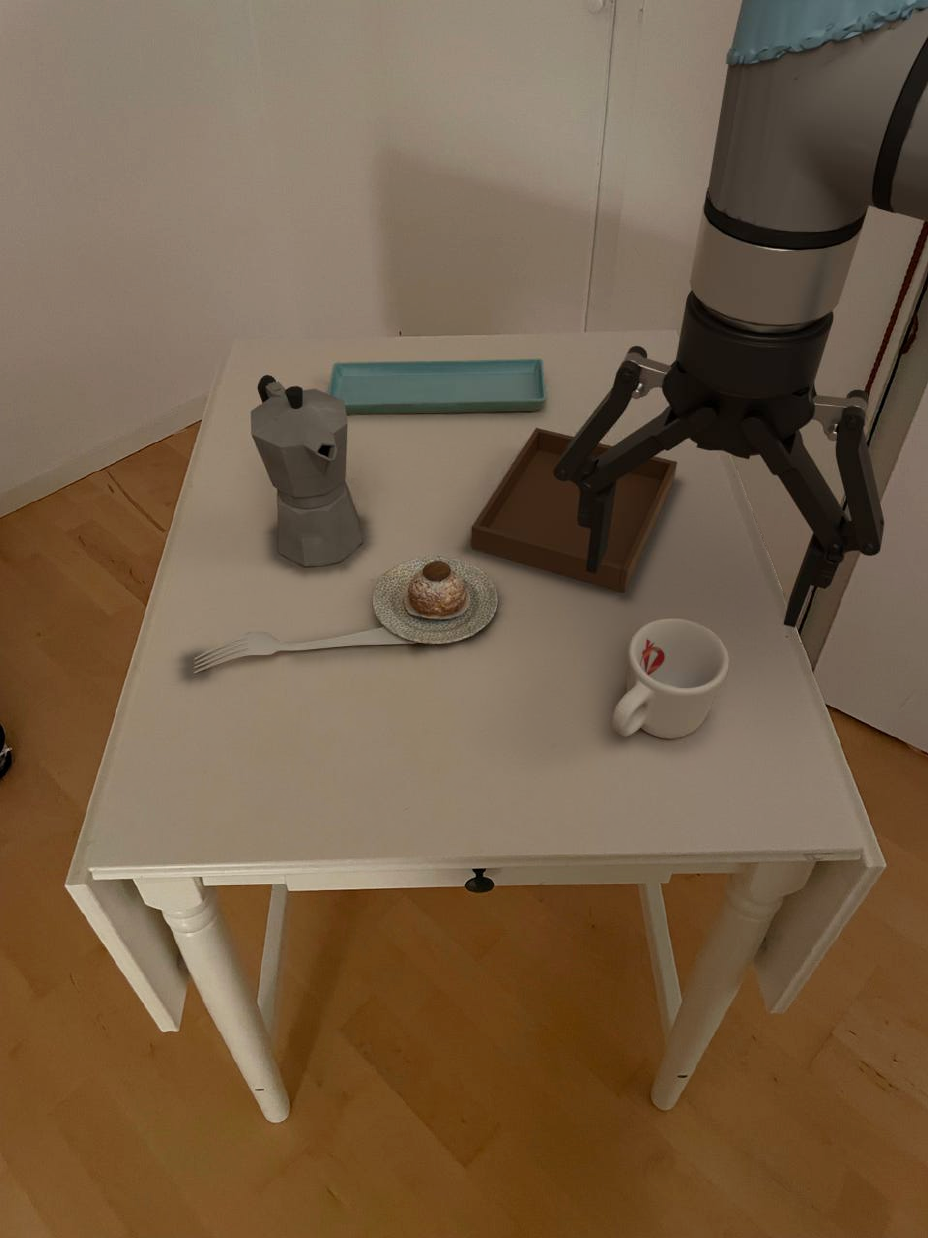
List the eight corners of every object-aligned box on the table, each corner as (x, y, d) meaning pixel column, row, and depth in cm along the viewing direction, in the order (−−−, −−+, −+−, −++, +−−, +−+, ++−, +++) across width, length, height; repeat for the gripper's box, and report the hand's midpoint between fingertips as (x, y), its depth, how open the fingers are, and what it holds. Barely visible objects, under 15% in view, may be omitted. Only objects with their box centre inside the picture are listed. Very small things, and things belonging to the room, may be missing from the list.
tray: (673, 483, 100) (677, 461, 98) (624, 593, 89) (627, 570, 87) (534, 449, 105) (536, 427, 103) (471, 549, 94) (471, 527, 91)
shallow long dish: (326, 419, 110) (324, 401, 108) (335, 376, 116) (332, 359, 114) (545, 417, 109) (546, 400, 107) (542, 375, 115) (543, 357, 113)
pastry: (484, 661, 83) (486, 625, 80) (357, 640, 85) (354, 604, 81) (507, 573, 91) (509, 538, 88) (390, 556, 93) (388, 521, 90)
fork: (421, 662, 86) (423, 643, 84) (193, 677, 83) (190, 657, 81) (417, 640, 88) (419, 621, 86) (194, 654, 85) (191, 634, 83)
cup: (647, 787, 74) (661, 729, 68) (576, 728, 78) (583, 668, 72) (730, 715, 79) (750, 655, 73) (659, 663, 83) (672, 602, 77)
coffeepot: (390, 557, 93) (375, 407, 80) (306, 593, 90) (275, 443, 76) (323, 478, 102) (299, 331, 89) (244, 508, 99) (207, 360, 85)
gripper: (1023, 307, 46) (886, 597, 62) (555, 228, 53) (538, 508, 69) (1023, 385, 42) (874, 677, 57) (510, 287, 48) (502, 573, 64)
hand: (691, 585), depth 63 cm, fingers open, 13 cm apart
